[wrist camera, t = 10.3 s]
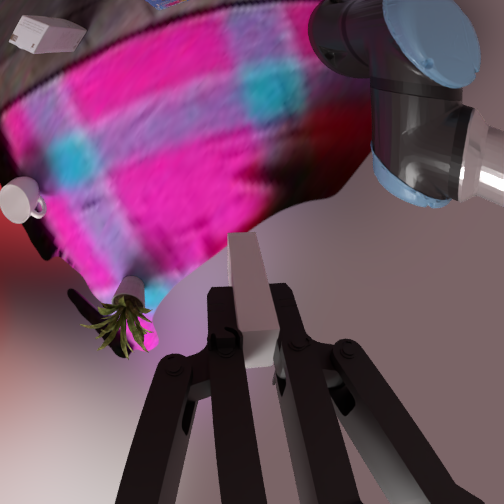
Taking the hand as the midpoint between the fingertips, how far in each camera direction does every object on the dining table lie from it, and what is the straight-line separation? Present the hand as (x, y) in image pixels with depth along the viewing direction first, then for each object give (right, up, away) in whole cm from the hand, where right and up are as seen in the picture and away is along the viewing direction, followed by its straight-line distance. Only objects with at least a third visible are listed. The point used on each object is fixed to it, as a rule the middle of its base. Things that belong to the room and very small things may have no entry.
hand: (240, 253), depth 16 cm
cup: (-40, +12, +26) cm, 49 cm away
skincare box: (-28, +34, +11) cm, 45 cm away
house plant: (-26, -7, +42) cm, 50 cm away
